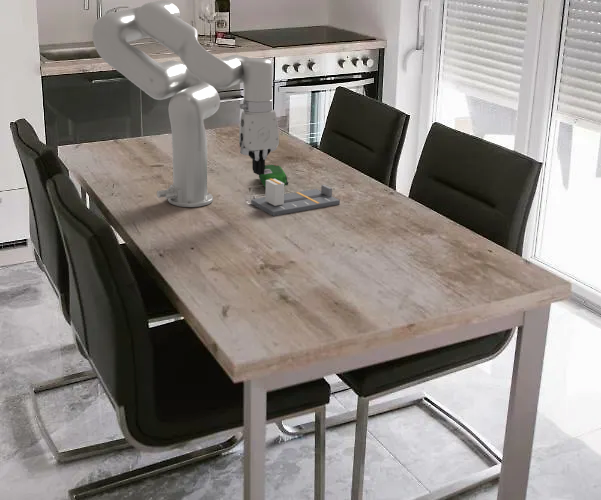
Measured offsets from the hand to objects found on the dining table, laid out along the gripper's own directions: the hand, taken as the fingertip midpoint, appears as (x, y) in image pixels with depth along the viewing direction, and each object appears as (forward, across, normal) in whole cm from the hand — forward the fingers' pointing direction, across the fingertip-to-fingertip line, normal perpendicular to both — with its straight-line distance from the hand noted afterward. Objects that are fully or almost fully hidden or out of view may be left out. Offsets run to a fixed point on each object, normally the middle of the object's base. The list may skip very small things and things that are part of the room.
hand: (258, 173), depth 243 cm
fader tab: (+9, +5, +1) cm, 11 cm away
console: (+11, +12, +1) cm, 17 cm away
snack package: (+11, +16, +19) cm, 27 cm away
